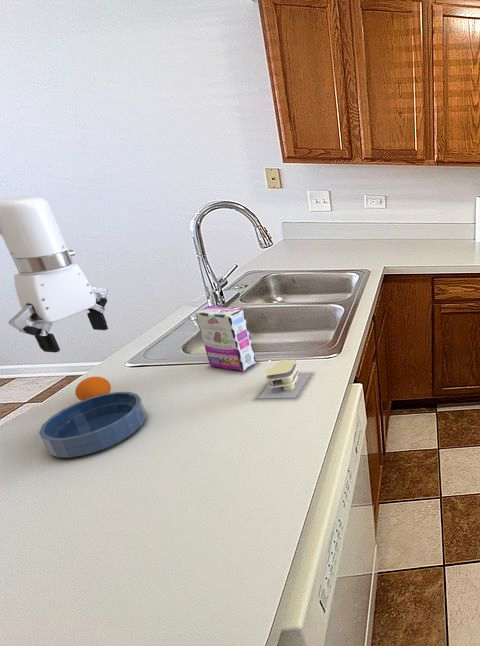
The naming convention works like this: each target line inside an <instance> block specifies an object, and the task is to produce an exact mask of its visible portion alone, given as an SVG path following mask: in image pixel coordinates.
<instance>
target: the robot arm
mask: <svg viewBox="0 0 480 646" xmlns="http://www.w3.org/2000/svg"><path fill="white" fill-rule="evenodd" d="M60 229H61V228H60V226H59V225H58V222H57V219H56V218H55V214H54V212H53V210H52V207H51V205H50V203H49V201H47V199H45V198H42V197H39V196H13V197H3V198H1V197H0V236H1V237H2V239H3V241H4V243H5V246H6V248H7V250H8V252H9V254H10V257H11V259H12V261H13V263H14V265H15V267H16V269H17V271H18V273H16V274H14V275H13V281H14V287H15V292H16V296H17V299H18V302H19V305H20V308H21V310H19V311H18V312H17V313H16V314H15V315H14V316H12V318H10V319H9V320H8V321H7V322H8V325H9V326H11V327H13V328H15V329H16V330H18V331H19V332H20V333H23V334H27V335H30V336H34V338H35V340H36V342H37V344H38V346H39V349H40V350H42V351H43V352H44V353H55V354H56V353H59V352H60V351H61V348H60V346H59V343H58V341H57V339H56V337H55V335H54V333H51V332H50V330H51V328H52V326H53V323H57V322H59V321H62V320H64V319H67V318H70V317H72V316H74V315H77V314H79V313H82V312H85V311H87V313H86V315H87V319H88V321H89V323H90V325H91V328H92V329H93V330H96V331H108V330H109V326H108V325H107V324H108V323H107V320H106V317H105V314H104V312H106V307H105V306H106V305H107V303H108V299H107V298H108V291H109V290H108V288H103V287H96V286H95V287H93V286H91V284H90V282H89V281H88V278H87V277H86V275H85V274H84V272H83V271H82V269H81V267H80V266H79V265H78V264H77V262H73V259H72V257H74V256H76V252H75V251H74V250H73V249H68V247H67V245H66V242H65V239H64V236H63V235H62V232H61V230H60ZM27 321H28V322H29V323H30V322H31V323H32V324H31V325H29V324H28V323H27Z"/></svg>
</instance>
